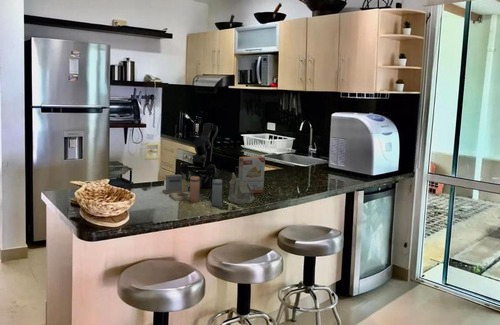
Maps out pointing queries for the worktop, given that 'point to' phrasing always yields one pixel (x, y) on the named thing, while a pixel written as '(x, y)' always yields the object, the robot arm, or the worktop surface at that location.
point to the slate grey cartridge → (217, 192)
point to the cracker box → (252, 172)
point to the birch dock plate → (180, 196)
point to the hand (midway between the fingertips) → (195, 182)
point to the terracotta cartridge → (194, 189)
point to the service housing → (173, 184)
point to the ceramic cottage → (240, 191)
